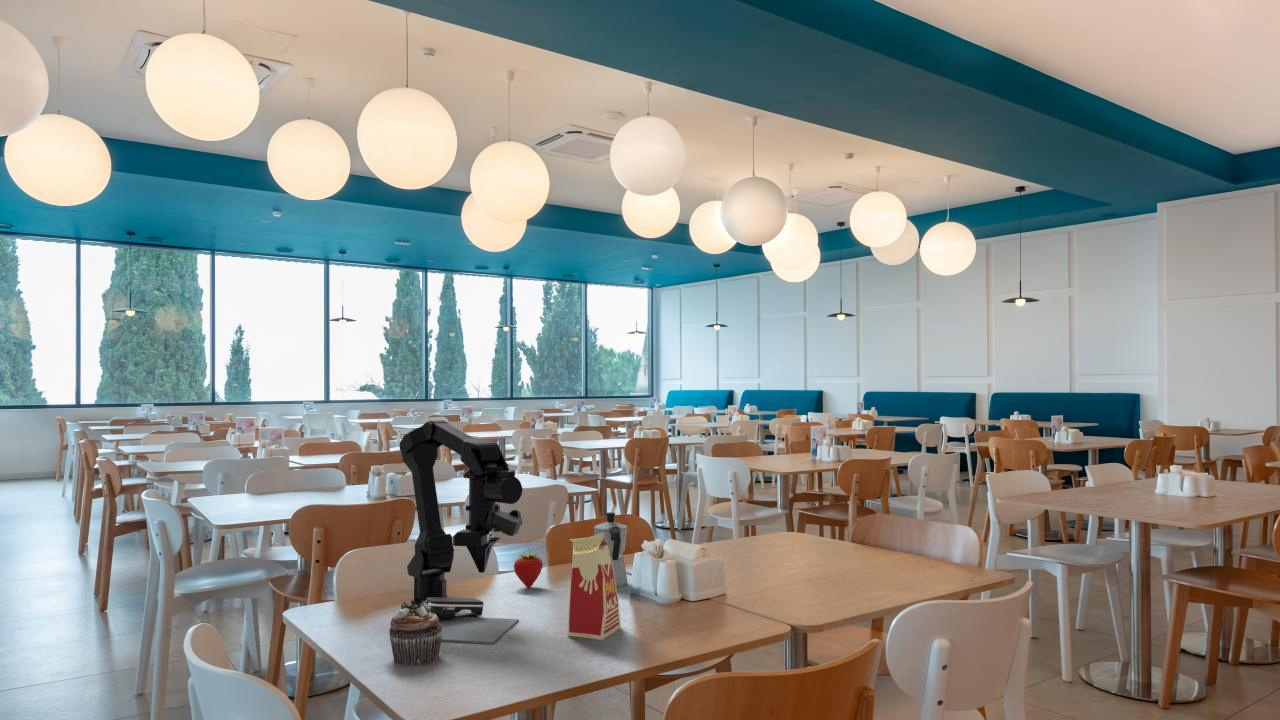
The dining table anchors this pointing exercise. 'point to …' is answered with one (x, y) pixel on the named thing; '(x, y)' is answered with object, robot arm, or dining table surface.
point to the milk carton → (592, 590)
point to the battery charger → (454, 606)
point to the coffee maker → (615, 546)
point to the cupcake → (415, 634)
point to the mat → (475, 629)
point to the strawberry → (528, 568)
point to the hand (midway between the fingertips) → (482, 572)
